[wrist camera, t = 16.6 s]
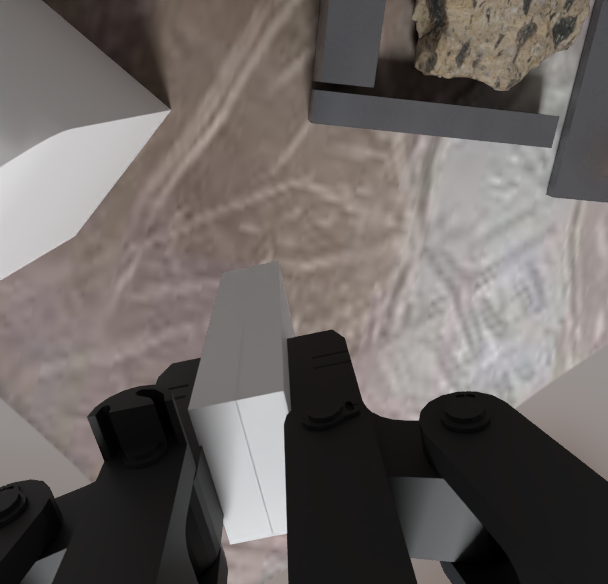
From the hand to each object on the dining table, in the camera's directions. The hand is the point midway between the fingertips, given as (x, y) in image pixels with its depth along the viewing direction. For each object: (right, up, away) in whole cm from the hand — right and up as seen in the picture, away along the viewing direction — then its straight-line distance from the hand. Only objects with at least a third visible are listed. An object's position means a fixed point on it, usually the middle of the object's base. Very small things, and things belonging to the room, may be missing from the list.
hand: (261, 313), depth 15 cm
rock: (+14, +20, +22) cm, 33 cm away
